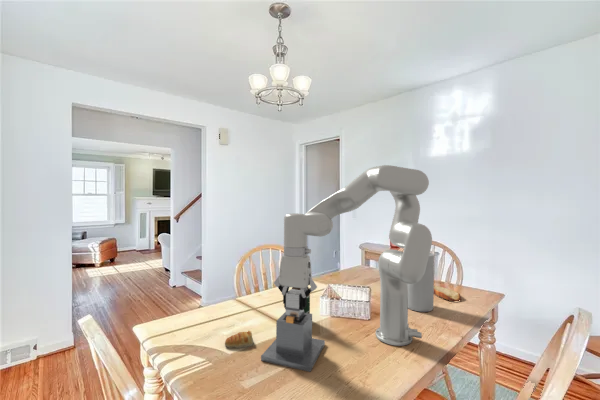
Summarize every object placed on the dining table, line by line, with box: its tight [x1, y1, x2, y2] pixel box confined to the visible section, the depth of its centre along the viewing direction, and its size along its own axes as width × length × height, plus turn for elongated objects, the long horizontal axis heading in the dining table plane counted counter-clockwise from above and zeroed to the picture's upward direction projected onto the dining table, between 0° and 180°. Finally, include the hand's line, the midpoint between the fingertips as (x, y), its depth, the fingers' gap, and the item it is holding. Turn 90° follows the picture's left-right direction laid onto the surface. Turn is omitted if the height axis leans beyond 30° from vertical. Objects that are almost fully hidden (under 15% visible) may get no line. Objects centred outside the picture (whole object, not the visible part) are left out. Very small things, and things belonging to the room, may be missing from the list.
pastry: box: [224, 330, 254, 349], centre depth 97 cm, size 9×7×4 cm
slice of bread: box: [434, 285, 462, 302], centre depth 148 cm, size 18×18×4 cm
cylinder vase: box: [407, 252, 435, 313], centre depth 131 cm, size 12×12×25 cm
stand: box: [260, 311, 326, 373], centre depth 92 cm, size 16×16×13 cm
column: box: [284, 288, 304, 322], centre depth 92 cm, size 5×5×18 cm
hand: (294, 306), depth 92 cm, fingers closed on column, 4 cm apart
